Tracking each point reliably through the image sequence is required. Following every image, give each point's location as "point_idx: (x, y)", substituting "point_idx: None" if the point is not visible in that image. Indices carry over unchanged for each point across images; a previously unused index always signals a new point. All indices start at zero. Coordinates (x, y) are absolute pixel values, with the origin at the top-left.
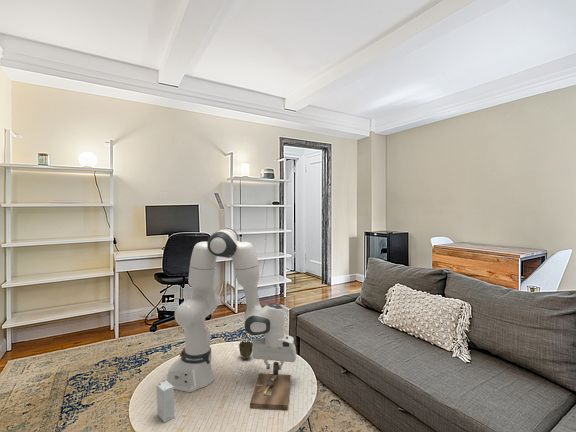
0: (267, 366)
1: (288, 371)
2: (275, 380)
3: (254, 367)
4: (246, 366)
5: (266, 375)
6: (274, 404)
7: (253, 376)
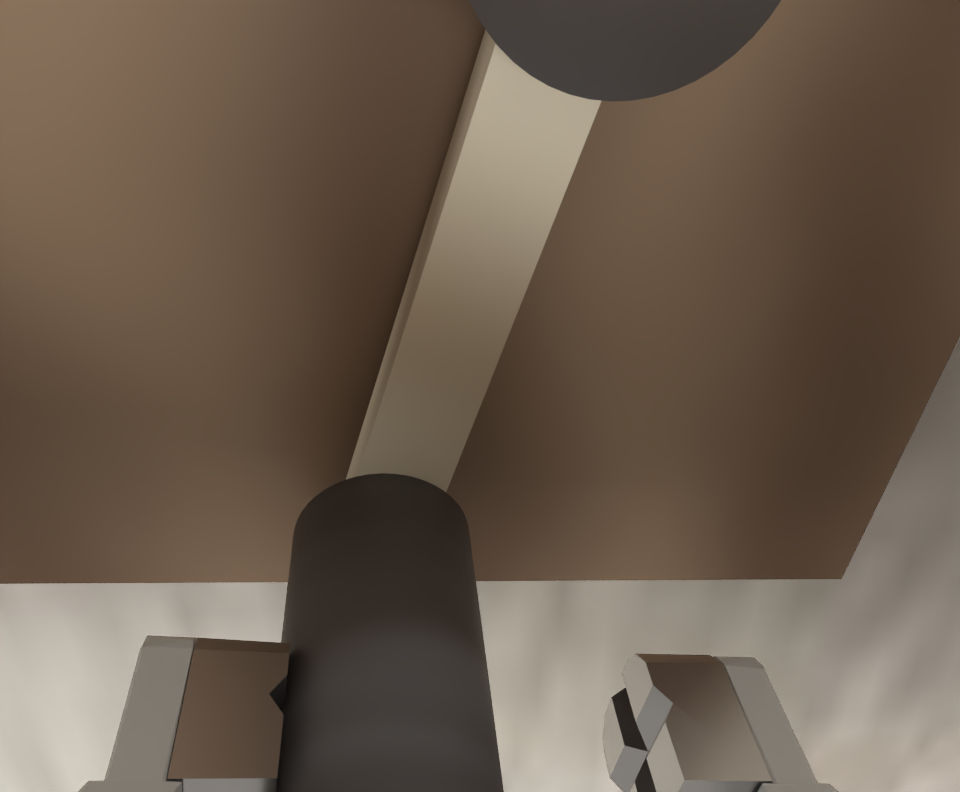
0: (756, 740)
1: (120, 720)
2: (375, 294)
3: (818, 748)
4: (953, 755)
5: (654, 507)
6: None
7: (903, 521)
